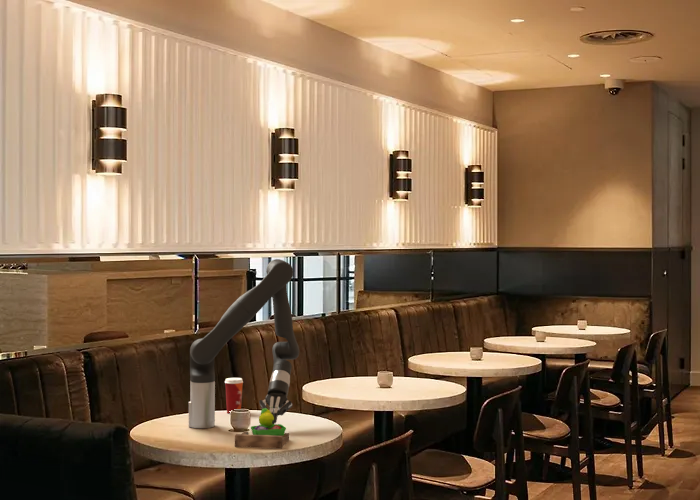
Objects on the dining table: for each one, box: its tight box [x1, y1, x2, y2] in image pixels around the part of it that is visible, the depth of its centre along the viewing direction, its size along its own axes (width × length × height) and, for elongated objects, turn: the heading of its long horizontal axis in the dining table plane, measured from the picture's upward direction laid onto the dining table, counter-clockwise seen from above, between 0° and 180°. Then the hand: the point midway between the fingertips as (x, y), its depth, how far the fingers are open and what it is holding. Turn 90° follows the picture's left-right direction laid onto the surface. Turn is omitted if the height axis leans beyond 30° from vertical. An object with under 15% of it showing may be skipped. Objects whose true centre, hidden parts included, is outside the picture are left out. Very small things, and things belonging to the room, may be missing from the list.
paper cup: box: [224, 377, 244, 415], centre depth 395 cm, size 8×8×14 cm
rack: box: [234, 430, 290, 449], centre depth 340 cm, size 16×14×4 cm
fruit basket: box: [250, 407, 287, 436], centre depth 344 cm, size 11×9×11 cm
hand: (271, 423), depth 355 cm, fingers closed
